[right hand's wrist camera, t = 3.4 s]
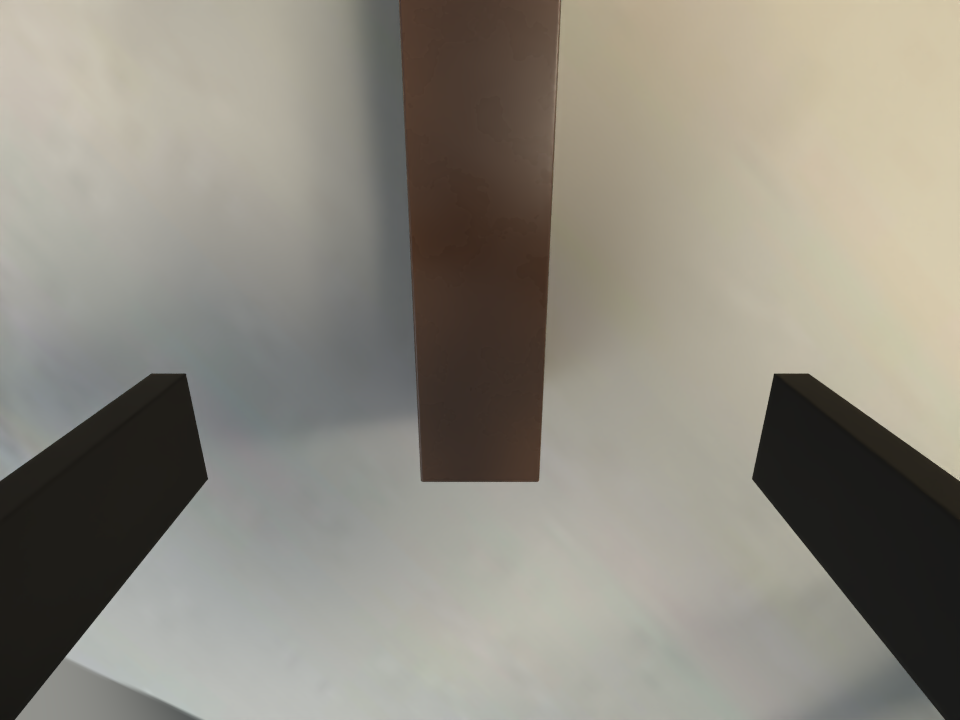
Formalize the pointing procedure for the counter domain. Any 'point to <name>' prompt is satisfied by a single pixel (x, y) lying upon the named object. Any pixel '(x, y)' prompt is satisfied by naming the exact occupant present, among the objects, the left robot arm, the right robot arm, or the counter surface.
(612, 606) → the counter surface
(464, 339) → the walnut beam
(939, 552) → the right robot arm
